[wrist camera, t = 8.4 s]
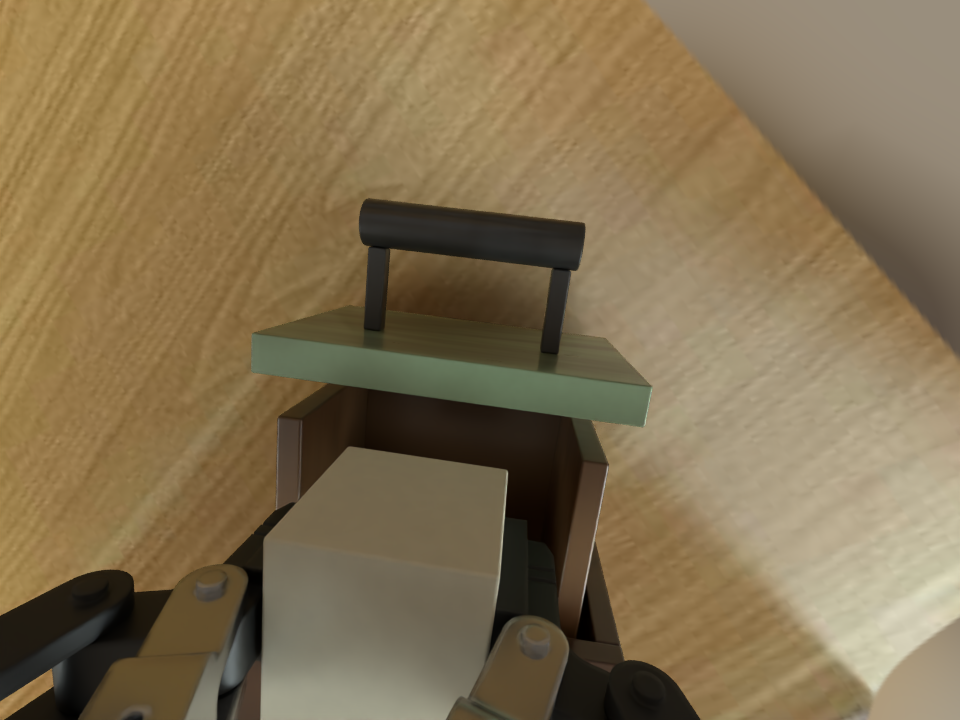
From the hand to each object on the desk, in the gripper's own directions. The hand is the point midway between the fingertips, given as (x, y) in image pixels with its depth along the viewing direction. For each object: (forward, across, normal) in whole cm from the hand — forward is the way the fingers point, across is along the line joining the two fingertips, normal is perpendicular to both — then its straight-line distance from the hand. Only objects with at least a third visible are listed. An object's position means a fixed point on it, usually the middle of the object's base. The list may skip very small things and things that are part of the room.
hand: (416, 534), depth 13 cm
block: (0, 0, 0) cm, 0 cm away
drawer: (+9, 0, 0) cm, 9 cm away
